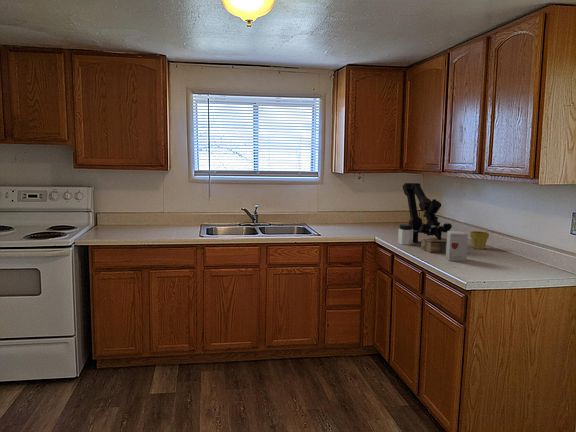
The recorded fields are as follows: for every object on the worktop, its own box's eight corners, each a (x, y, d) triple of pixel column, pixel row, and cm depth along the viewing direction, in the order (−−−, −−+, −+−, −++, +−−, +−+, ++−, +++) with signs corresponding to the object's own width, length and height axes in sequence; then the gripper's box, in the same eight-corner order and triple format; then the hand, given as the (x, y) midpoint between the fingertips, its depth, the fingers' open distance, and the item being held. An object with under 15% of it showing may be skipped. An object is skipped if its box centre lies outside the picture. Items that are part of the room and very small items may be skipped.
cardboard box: (420, 248, 290) (421, 239, 289) (441, 248, 293) (442, 238, 292) (430, 253, 278) (431, 243, 278) (452, 252, 281) (453, 242, 281)
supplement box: (448, 261, 258) (450, 233, 256) (445, 257, 267) (446, 230, 265) (466, 261, 257) (467, 233, 255) (462, 258, 265) (464, 231, 264)
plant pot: (479, 246, 302) (480, 230, 301) (491, 249, 292) (492, 233, 291) (465, 247, 298) (466, 231, 297) (478, 250, 289) (479, 234, 288)
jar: (398, 244, 304) (399, 225, 302) (397, 242, 312) (398, 223, 310) (412, 245, 302) (413, 226, 300) (412, 242, 310) (413, 224, 308)
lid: (421, 239, 289) (421, 238, 289) (442, 238, 292) (442, 237, 292) (431, 242, 278) (431, 241, 278) (453, 241, 281) (453, 240, 281)
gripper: (440, 226, 299) (448, 247, 290) (412, 226, 295) (420, 248, 286) (447, 215, 291) (456, 236, 281) (419, 215, 287) (427, 236, 277)
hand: (440, 239), depth 282 cm, fingers closed, pressing on lid
